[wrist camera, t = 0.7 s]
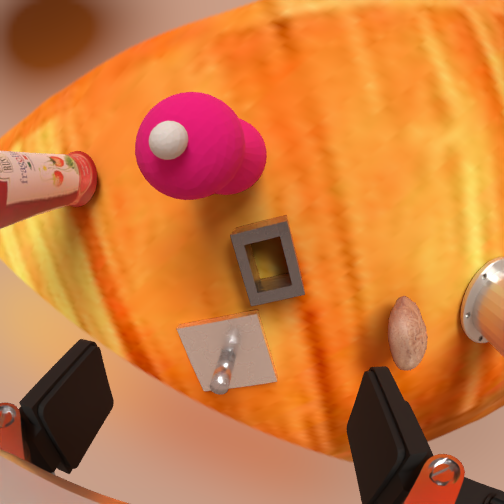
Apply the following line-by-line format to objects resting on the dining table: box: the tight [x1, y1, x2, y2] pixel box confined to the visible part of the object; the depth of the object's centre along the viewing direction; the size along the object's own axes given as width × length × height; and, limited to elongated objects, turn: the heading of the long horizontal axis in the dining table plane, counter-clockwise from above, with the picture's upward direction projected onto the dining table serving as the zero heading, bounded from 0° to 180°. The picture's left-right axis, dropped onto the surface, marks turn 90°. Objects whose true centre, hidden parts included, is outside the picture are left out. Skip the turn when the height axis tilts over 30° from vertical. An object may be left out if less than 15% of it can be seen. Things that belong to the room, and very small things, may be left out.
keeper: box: [177, 309, 277, 394], centre depth 33 cm, size 10×10×7 cm
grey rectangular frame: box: [230, 215, 305, 306], centre depth 31 cm, size 8×6×4 cm
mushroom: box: [388, 296, 427, 370], centre depth 30 cm, size 8×6×8 cm
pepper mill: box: [135, 92, 267, 200], centre depth 21 cm, size 7×7×20 cm
